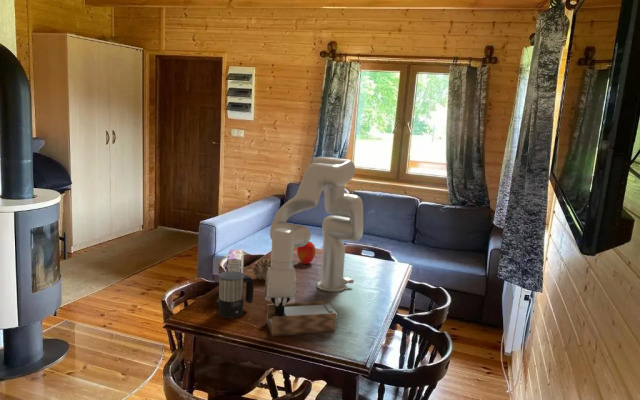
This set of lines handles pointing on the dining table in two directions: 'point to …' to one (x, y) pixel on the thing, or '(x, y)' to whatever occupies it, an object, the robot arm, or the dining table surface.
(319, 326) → the walnut box
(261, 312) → the dining table surface
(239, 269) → the candy box
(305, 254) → the apple
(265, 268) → the pine cone
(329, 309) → the cover plate
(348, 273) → the dining table surface
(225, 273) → the milk frother
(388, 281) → the dining table surface
